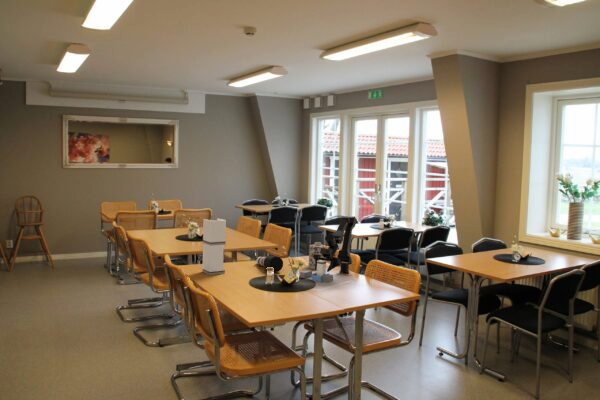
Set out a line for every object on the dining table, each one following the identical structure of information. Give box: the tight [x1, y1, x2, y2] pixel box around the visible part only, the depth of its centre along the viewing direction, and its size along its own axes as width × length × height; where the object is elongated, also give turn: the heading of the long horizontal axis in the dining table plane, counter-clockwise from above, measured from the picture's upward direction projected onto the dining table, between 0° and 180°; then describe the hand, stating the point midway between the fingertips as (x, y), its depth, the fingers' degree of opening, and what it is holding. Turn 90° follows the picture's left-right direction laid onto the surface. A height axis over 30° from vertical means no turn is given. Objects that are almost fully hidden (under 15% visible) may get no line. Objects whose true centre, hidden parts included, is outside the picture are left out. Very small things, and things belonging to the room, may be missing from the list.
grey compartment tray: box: [299, 269, 334, 284], centre depth 322 cm, size 20×9×5 cm, turn 53°
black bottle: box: [255, 255, 284, 273], centre depth 356 cm, size 10×34×10 cm, turn 26°
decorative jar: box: [308, 241, 327, 270], centre depth 363 cm, size 12×12×18 cm
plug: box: [316, 260, 327, 277], centre depth 320 cm, size 4×4×12 cm
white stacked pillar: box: [202, 218, 227, 276], centre depth 334 cm, size 11×11×35 cm
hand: (321, 270), depth 320 cm, fingers open, 9 cm apart
